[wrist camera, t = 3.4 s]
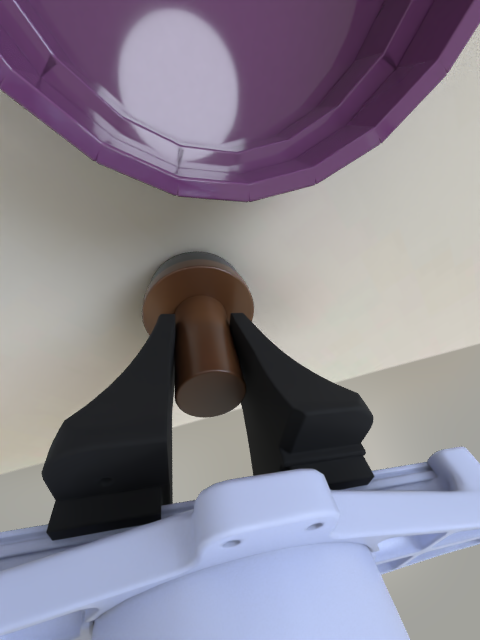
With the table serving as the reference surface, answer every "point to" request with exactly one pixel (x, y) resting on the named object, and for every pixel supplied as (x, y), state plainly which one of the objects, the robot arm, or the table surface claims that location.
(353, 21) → the bowl
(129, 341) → the table surface
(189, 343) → the brown stamp
